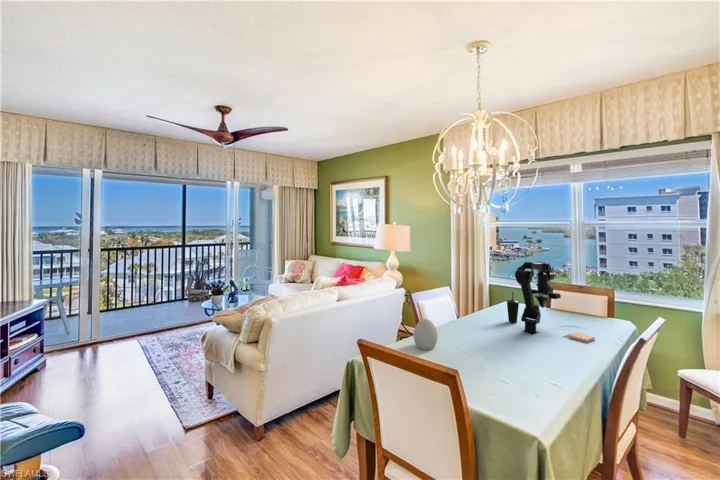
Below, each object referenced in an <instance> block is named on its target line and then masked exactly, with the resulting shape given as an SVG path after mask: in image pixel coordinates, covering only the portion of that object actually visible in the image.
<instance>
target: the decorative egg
mask: <svg viewBox="0 0 720 480" xmlns="http://www.w3.org/2000/svg"><path fill="white" fill-rule="evenodd" d="M437 332H438V331H437V327H436V326H435V324H434V323H433V322H432V321H431V320H430V319H428V318H422V319H420V320H419V321H418V322H417V323H416V325H415V326H414V331H413V341H414V343H415V346H416V347H417V348H418V349H420V350H423V351H426V350H427V351H428V350H432V349H434V348H435V346H436V345H437V342H438V333H437Z"/></svg>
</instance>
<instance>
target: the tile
mask: <svg viewBox="0 0 720 480" xmlns="http://www.w3.org/2000/svg"><path fill="white" fill-rule="evenodd" d="M570 334H571V335H569V338H571V339H570V340H573V339H574V340H573V341H576V340H578V341H577V342H580V341H582V342H581V343H584V342H586V343H585V344H589V343H588V342H590V341H593V340H595V341H596V339H595V338H596V337H595V336H592V335H587V334H584V333H580V332H575V333H570ZM569 338H568V339H569ZM593 342H594V341H593Z"/></svg>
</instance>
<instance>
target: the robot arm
mask: <svg viewBox="0 0 720 480" xmlns="http://www.w3.org/2000/svg"><path fill="white" fill-rule="evenodd" d="M534 271H537V272H538V273H536V276H537V283H536V284H535V286H537V289H533V288H532V286H531V282H532V281H533V278H534V275H535V272H534ZM514 277H515V280H516V282H517V283H518V284H519V285H520V287H521V291H522V295H523V296H522V297H523V300H524V305H525V307H524V308H523V312H522V315H521V317H520V319H521V322H524V329H523V330H521V331H522V333H525V334H530V335H536V334H538V333H540V332H539V331H538V330H537V324H540V322H541V317H542V313H541V310H540V307H541V309H544V308H545V305H546V304H547V302H548V300H549V299H552V300H558V299H561V298H562V297H561V296H562V295H561V293H558V292H554V290H555V289H554V287H551V285H550V284H549V282H551V281H554V279H555V278H556V277H555V274H554V273H553V269H552V265H551V264H550V263H549V262H545V261H544V262H543V261H536V262H533V261H525V262H523V264H522V265H521V266H519V267H518V268H516V271H515V273H514ZM534 298H536V300H537V301H538V304H539V305H540V306H539V305H536V304H535V299H534Z"/></svg>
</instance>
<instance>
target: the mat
mask: <svg viewBox="0 0 720 480" xmlns="http://www.w3.org/2000/svg"><path fill="white" fill-rule="evenodd" d="M571 334H572V333H568V334H566V335H562V338H566V339H569V340H572V341H575V342H576V341H577V342H580V343H585V344H590V343H593V342H596V339H595V340H593V341H590V342H588V343H586V342H582V341H578V340H574V339H571V338H569V335H571Z"/></svg>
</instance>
